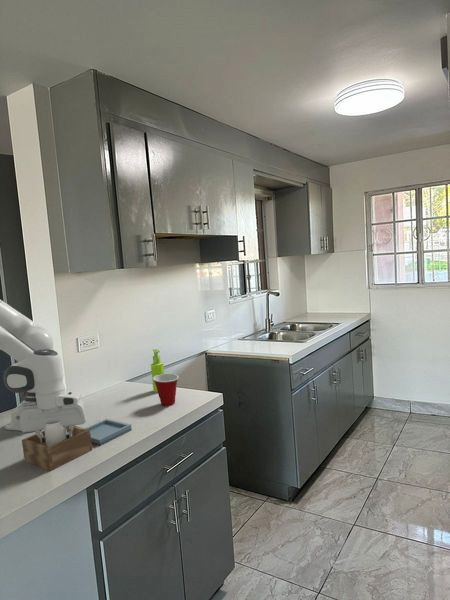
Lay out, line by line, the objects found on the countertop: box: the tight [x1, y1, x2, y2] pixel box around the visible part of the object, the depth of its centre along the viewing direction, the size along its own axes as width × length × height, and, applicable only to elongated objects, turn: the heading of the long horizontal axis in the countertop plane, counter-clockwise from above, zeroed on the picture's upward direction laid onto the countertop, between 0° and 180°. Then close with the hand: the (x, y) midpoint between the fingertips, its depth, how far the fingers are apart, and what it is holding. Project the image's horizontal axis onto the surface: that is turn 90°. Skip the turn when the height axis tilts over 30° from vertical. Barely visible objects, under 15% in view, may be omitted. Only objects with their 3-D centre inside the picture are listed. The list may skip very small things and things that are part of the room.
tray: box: [84, 418, 132, 446], centre depth 148 cm, size 14×14×2 cm
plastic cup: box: [153, 373, 180, 407], centre depth 174 cm, size 11×11×12 cm
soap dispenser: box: [150, 348, 165, 393], centre depth 193 cm, size 6×7×20 cm
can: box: [45, 421, 67, 447], centre depth 133 cm, size 6×6×12 cm
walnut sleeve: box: [21, 425, 93, 472], centre depth 133 cm, size 15×15×7 cm
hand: (56, 440), depth 133 cm, fingers open, 7 cm apart
